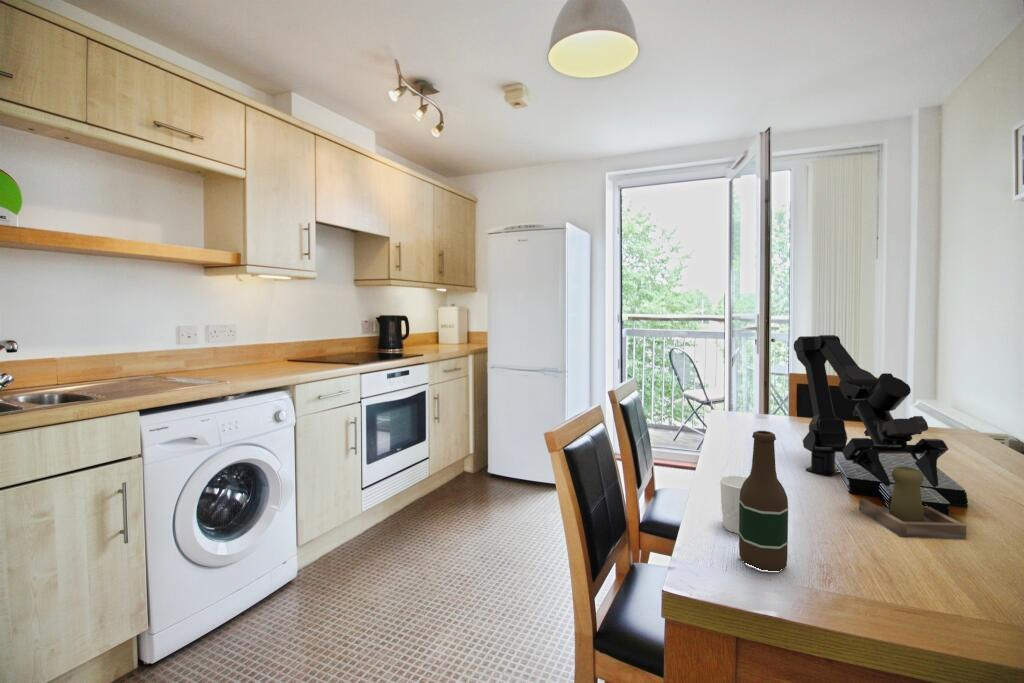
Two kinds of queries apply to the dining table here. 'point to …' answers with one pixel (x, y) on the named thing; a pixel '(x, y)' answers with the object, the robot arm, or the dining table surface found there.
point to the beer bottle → (763, 510)
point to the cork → (907, 495)
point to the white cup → (731, 501)
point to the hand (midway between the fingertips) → (912, 486)
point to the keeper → (916, 523)
